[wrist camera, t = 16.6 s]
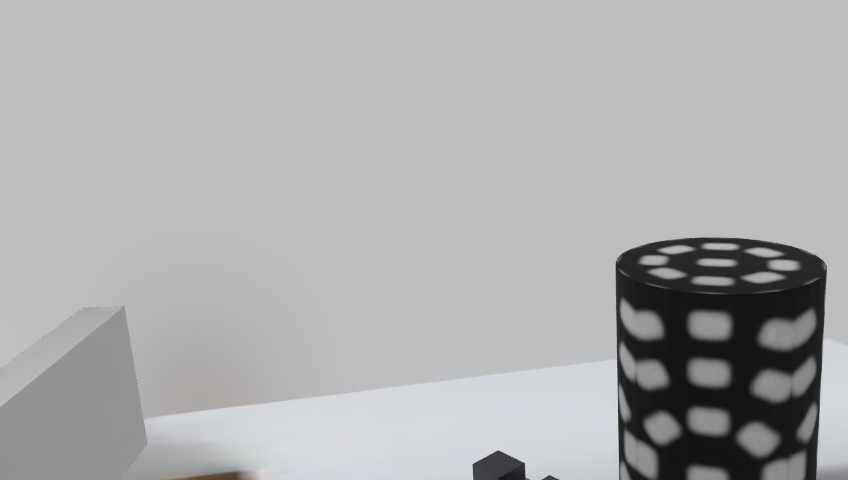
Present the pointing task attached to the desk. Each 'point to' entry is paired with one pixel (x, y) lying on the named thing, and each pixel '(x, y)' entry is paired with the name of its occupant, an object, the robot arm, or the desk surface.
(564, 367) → the desk surface
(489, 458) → the breaker board
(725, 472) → the spotted tube
